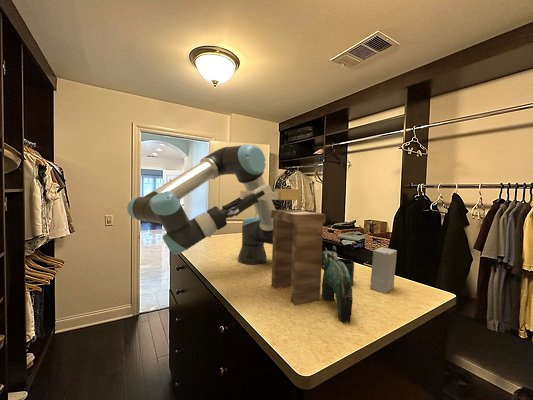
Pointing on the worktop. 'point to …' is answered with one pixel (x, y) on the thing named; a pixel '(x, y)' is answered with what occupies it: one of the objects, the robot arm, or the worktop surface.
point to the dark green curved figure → (337, 284)
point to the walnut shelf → (297, 253)
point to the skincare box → (383, 269)
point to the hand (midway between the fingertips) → (267, 187)
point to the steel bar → (275, 194)
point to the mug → (349, 267)
